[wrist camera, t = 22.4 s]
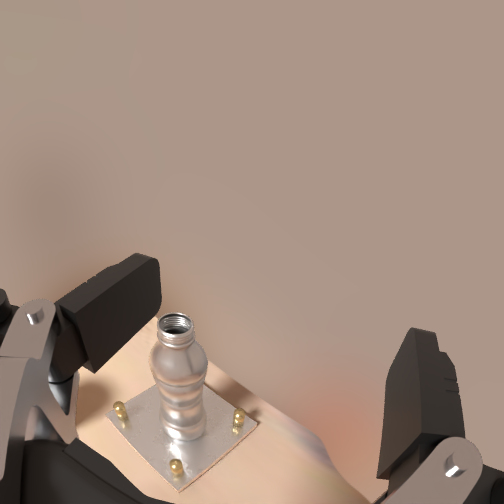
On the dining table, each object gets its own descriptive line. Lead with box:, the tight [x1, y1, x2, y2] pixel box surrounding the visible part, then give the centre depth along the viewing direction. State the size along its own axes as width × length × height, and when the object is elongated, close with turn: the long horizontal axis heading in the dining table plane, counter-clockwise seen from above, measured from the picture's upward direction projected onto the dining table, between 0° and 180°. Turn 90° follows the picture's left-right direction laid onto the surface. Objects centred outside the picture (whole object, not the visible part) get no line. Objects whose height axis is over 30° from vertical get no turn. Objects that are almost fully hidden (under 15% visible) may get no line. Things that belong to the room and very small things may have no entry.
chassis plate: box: [105, 384, 257, 493], centre depth 38 cm, size 16×16×4 cm
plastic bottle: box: [149, 312, 208, 441], centre depth 33 cm, size 6×7×20 cm
